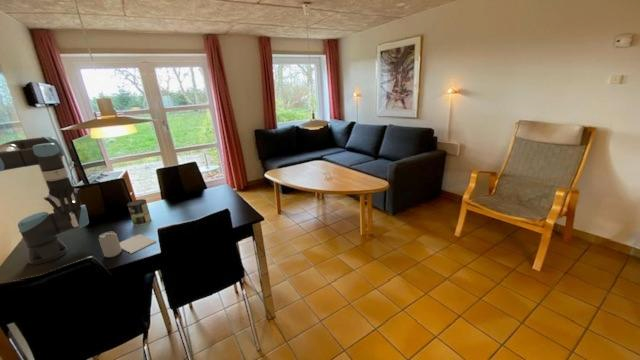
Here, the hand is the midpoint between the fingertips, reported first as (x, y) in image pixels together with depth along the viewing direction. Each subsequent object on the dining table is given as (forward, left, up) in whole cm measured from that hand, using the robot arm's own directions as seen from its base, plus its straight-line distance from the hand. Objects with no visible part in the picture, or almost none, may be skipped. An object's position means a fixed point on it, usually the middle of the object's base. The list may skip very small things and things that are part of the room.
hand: (75, 225), depth 126 cm
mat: (+21, 0, -22) cm, 30 cm away
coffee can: (+38, +26, -22) cm, 51 cm away
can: (+10, 0, -22) cm, 24 cm away
